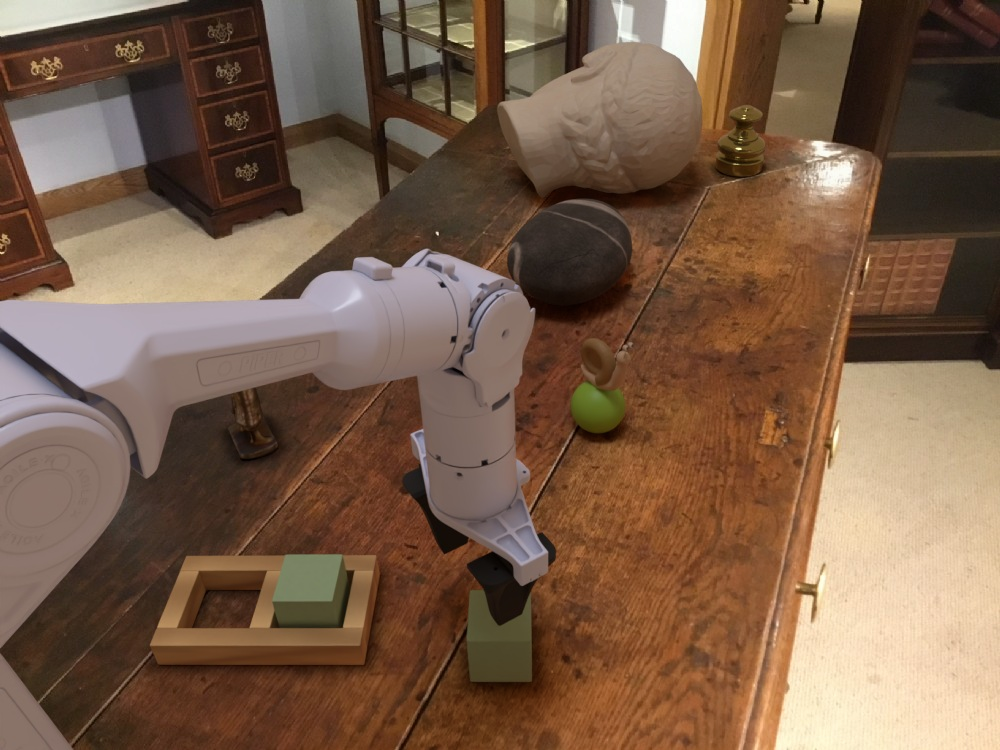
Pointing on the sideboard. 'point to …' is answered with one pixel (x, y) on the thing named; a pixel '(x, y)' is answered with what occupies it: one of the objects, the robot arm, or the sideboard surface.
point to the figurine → (250, 426)
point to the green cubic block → (312, 591)
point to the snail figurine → (600, 387)
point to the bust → (608, 122)
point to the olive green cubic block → (498, 644)
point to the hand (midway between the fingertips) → (480, 579)
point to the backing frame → (261, 617)
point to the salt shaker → (741, 145)
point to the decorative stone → (570, 252)
